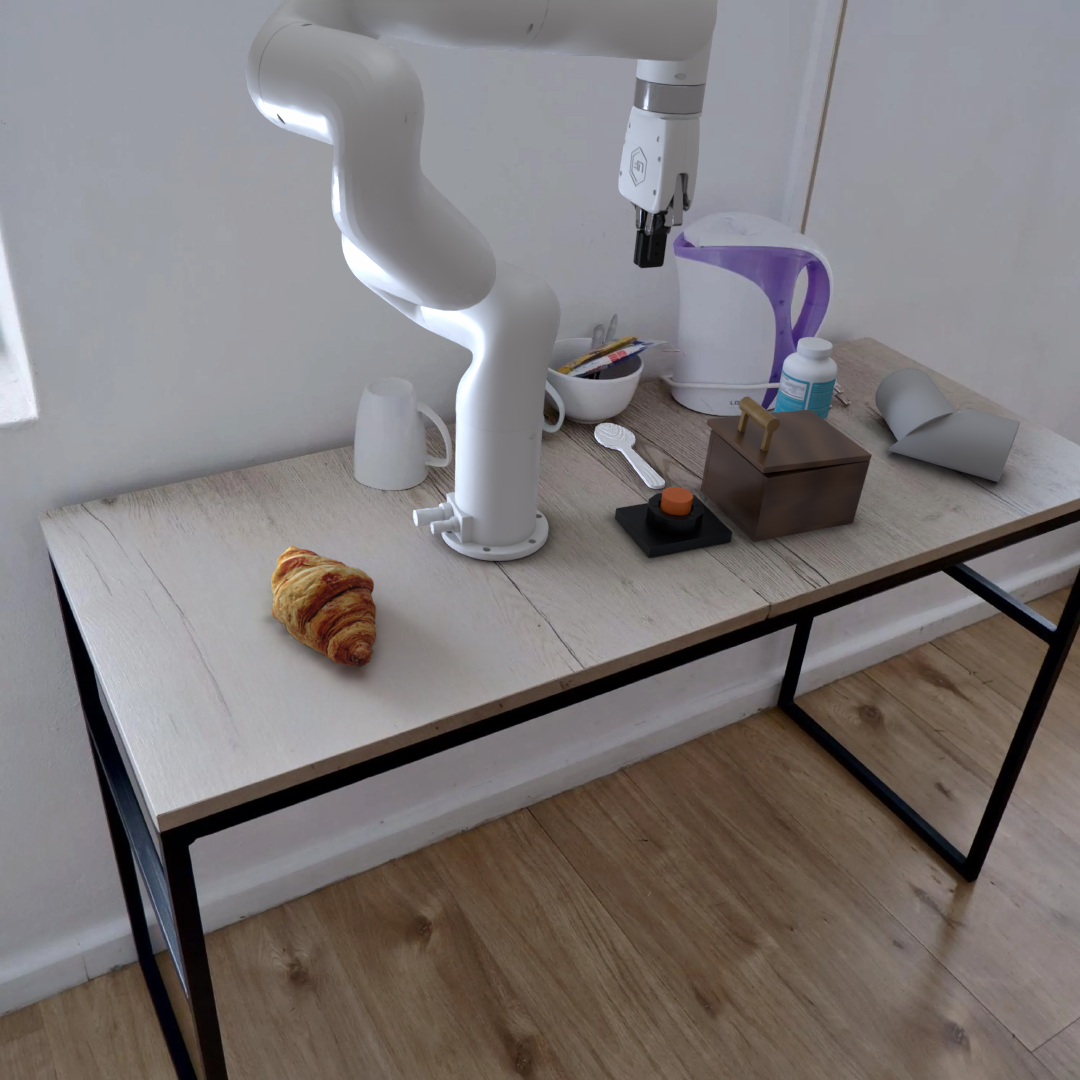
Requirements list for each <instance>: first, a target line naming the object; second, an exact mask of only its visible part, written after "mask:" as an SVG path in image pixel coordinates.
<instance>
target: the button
mask: <svg viewBox="0 0 1080 1080" xmlns="http://www.w3.org/2000/svg"><path fill="white" fill-rule="evenodd" d="M661 493H662V499H661V505H660V508H661V510H662V511H664V512H666V513H668V514H671V515H680V516H681V515H687V514H689V513H690V511H691V506H692V500H693V495H694V494H693V493H692V492H691V491H690V490H688V489H687V488H685V487H679V486H670V487H669V486H668V487H666V488H665V489H663V490H662V492H661Z"/></svg>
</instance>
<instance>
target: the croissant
mask: <svg viewBox="0 0 1080 1080" xmlns="http://www.w3.org/2000/svg"><path fill="white" fill-rule="evenodd" d="M270 580H271V581H270V582H271V583H270V587H271V594H272V596H273V597H272V599H273V600H272V607H271V616H272V618H274V619H276V620H277V621H278V622H279V623H280V624H282V625H284V626H285V627H286V630H287V632H288V633H289V635H291V637H293V638H294V640H297V641H298V642H299V643H301V644H302V645H304V646H307V647H309V648H311V649H312V650H314V651H316V652H318V653H320V654H322V655H324V656H325V657H327V658H328V659H330V660H331V661H332V662H334V663H336V664H339V665H343V666H352V667H358V668H360V667H363V666H366V664H368V663H370V662H371V660H372V657H373V653H374V651H373V649H372V647H373V646H374V644H375V643H376V640H377V626H376V625H377V623H376V615H377V606H376V603H375V601H374V598H373V596H372V594H373V592H374V587H375V584H374V583H375V582H374V580H373V578H371V577H370V576H369V574H368V573H366V572H365V571H364V570H362V569H361V568H359V567H352V566H349V565H346V564H345V563H343V562H342V561H339V560H337V559H333V558H330V557H326V556H322V555H319V554H318V553H317V552H314V551H312V550H309V549H304V548H303V549H302V548H299V547H297V546H295V545H291V546H289V547H288V548H287V549H286V550H285V551H283V552H282V553H281V554H280V555H279V557H278V558H277V561H276V568H275V570H274V571H272V574H271V579H270Z"/></svg>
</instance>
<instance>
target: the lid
mask: <svg viewBox="0 0 1080 1080" xmlns="http://www.w3.org/2000/svg"><path fill="white" fill-rule="evenodd" d="M738 408H739V410H740V411H741V414H740V415H734V416H724V417H714V418H712V417H711V418H708V419H707V421H706V426H708V427H709V428H710V429H711V430H712V429H713V430H714V431H715V432H716V433H717V434H718V435H719V436H721V437H722V438H723V439H724V440H725V441H726V442H728V443H729V444H730V445H731V446H732V447H733V448H734V449H736V450H737V451H738V452H739V453H740V454H741V455H743V456H744V457H745V458H746V459H747V460H748V461H749V462H751V463H752V464H753V465H754V466H755V467H756V468H757V469H759V470H760V471H761V472H762V473H770V472H778V471H786V470H795V469H803V468H811V467H820V466H828V465H836V464H845V463H853V462H861V461H870V462H871V459H872V457H873V455H872V453H870V452H869V451H867V450H866V449H865V448H864V447H862V446H861V445H859V444H858V443H856V442H855V441H853V440H852V439H851V438H850V437H848V436H847V435H846V434H844V433H843V432H842V431H840V430H839V429H837V427H835V426H833V425H832V424H831V423H829V422H828V421H827V420H826V421H825V420H824V419H822V418H821V417H820V416H818V415H817V414H816V413H814V412H813V411H812V410H810V409H809V410H798V411H787V412H776V413H774V412H770V411H769V410H767V409H766V408H765V407H764V406H762V405H761V404H760V403H758V402H757V401H755V400H754V399H753V398H752V397H750V396H744V397H742V398H741V399H740V401H739V403H738Z"/></svg>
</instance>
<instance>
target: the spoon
mask: <svg viewBox="0 0 1080 1080" xmlns="http://www.w3.org/2000/svg"><path fill="white" fill-rule="evenodd" d="M594 439H595V440H596V441H597V442H598V443H599V444H600V445H601V446H603V447H605V448H608V449H612V450H617V451H619V452H621V454H622V455H623V456H624V457H625V458H626V460H627V461H628V463H629V464H630V465H631V467H632V468H633V469H634V470H635V472H636V473H637V474H638V476H639V477H640V478H641V479H642V481H643V482H644V483H645V485H646V486H647V487H648V488H651V489H654V490H660V489H663V488H665V486H666V481H665V479H664V478H662V476H660V475H659V473H658V472H656V470H654V469H653V467H651V466H650V464H648V463H647V462H646V461H645V460H644V459H643V458H642V457H641V456H640V454H638V453H637V452H636V451H635V450H634V449H633V447H634V446H635V445H636V436H635V434H634V433H633V432H632V431H631V430H629V429H627V428H626V427H623V426H622V425H619V424H615V423H613V422H612V423H611V422H601V423H598V424H597V425H596V426H595V429H594Z"/></svg>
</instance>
